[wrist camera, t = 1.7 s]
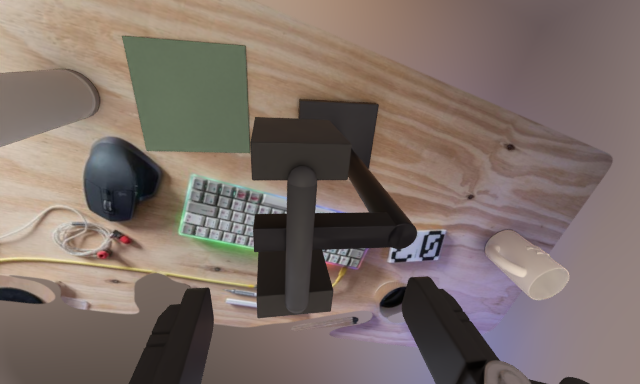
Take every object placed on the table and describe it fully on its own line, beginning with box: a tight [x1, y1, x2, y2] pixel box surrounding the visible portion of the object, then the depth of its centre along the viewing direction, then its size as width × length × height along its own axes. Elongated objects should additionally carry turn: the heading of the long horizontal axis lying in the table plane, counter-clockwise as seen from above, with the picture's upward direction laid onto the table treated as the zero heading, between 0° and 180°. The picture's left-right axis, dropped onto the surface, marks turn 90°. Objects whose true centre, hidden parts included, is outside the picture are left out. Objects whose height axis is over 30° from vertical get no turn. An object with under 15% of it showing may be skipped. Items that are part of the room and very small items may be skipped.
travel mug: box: [0, 69, 100, 147], centre depth 28 cm, size 6×7×20 cm
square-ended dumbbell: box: [251, 117, 352, 318], centre depth 22 cm, size 14×6×8 cm, turn 176°
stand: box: [253, 99, 417, 252], centre depth 32 cm, size 12×17×27 cm
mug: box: [485, 230, 569, 300], centre depth 55 cm, size 8×12×12 cm
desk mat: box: [122, 36, 250, 153], centre depth 39 cm, size 15×15×1 cm
